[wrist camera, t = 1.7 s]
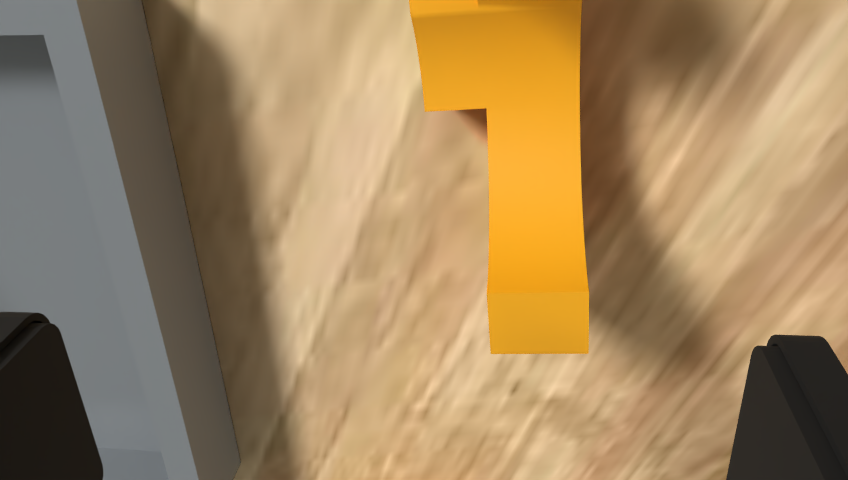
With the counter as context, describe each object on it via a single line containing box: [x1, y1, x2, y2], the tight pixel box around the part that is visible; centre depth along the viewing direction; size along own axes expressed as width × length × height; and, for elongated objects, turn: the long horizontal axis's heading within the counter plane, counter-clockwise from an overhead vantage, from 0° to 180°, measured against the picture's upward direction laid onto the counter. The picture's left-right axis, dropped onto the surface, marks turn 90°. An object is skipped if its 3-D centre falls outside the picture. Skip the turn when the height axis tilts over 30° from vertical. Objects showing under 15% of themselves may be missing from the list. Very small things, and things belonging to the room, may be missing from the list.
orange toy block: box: [409, 0, 589, 354], centre depth 20 cm, size 12×4×6 cm, turn 5°
